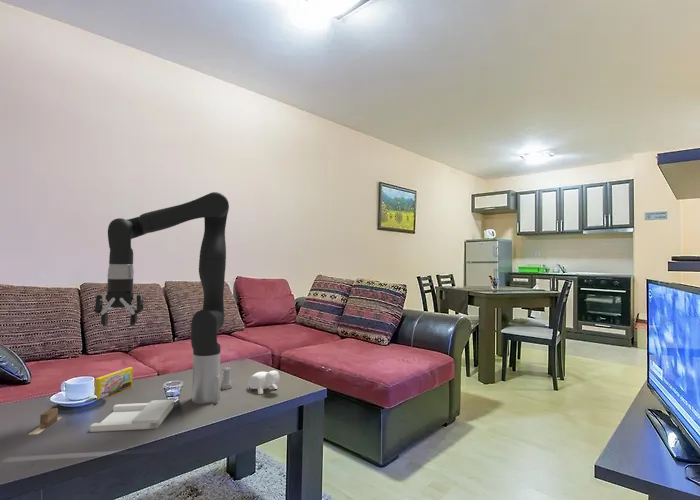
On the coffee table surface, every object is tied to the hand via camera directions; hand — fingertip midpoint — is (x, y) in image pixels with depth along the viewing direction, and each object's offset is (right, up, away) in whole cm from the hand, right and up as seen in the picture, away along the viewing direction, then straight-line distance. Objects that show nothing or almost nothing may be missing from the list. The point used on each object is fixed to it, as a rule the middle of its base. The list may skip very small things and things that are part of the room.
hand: (118, 325), depth 129 cm
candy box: (-10, -29, +14) cm, 33 cm away
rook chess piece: (+29, -30, +23) cm, 47 cm away
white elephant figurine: (+45, -30, +20) cm, 58 cm away
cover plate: (-8, -28, -13) cm, 32 cm away
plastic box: (+11, -28, -10) cm, 32 cm away
